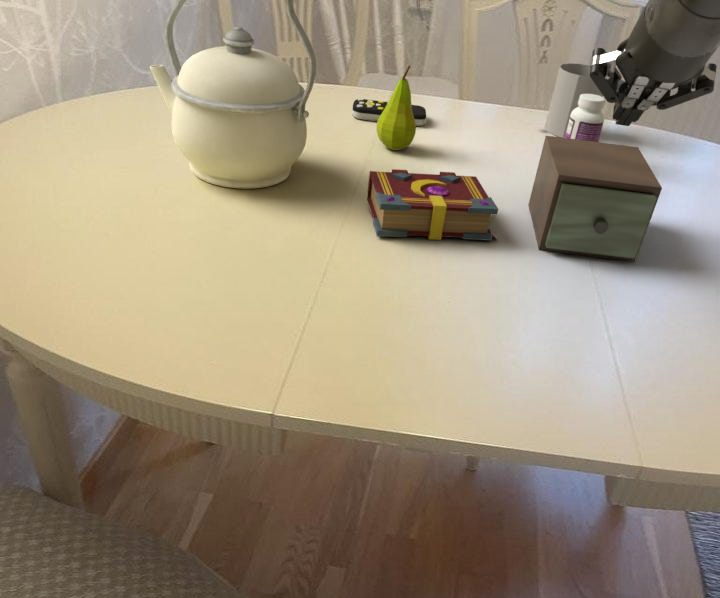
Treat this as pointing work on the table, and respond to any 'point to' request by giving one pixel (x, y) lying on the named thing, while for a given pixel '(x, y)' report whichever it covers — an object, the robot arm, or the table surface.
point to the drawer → (599, 220)
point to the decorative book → (429, 205)
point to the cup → (568, 96)
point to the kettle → (237, 108)
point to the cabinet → (585, 178)
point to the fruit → (397, 118)
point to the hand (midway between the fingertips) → (622, 117)
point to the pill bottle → (586, 118)
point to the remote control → (375, 108)
